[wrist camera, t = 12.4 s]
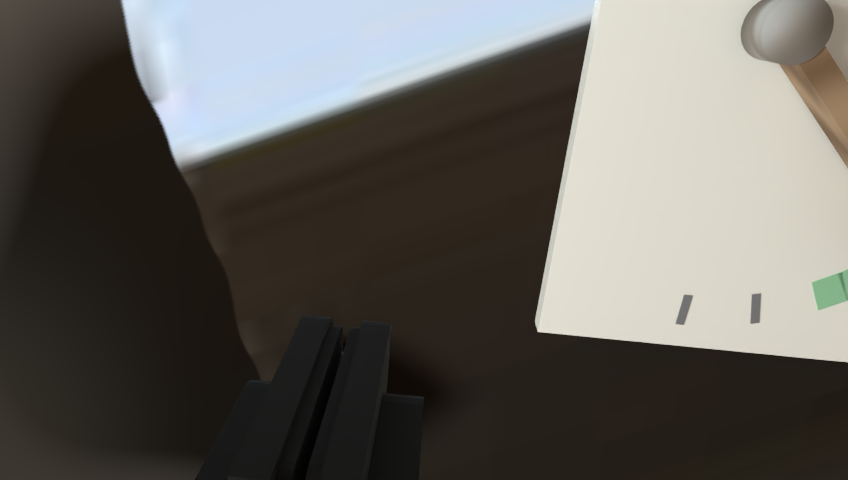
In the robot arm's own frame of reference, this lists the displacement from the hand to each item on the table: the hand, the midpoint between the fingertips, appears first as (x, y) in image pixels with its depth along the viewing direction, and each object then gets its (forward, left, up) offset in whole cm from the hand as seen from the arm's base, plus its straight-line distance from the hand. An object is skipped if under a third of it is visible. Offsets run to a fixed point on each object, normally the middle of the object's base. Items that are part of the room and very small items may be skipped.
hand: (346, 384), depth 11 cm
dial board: (+2, +24, -29) cm, 37 cm away
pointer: (-1, +26, -27) cm, 38 cm away
